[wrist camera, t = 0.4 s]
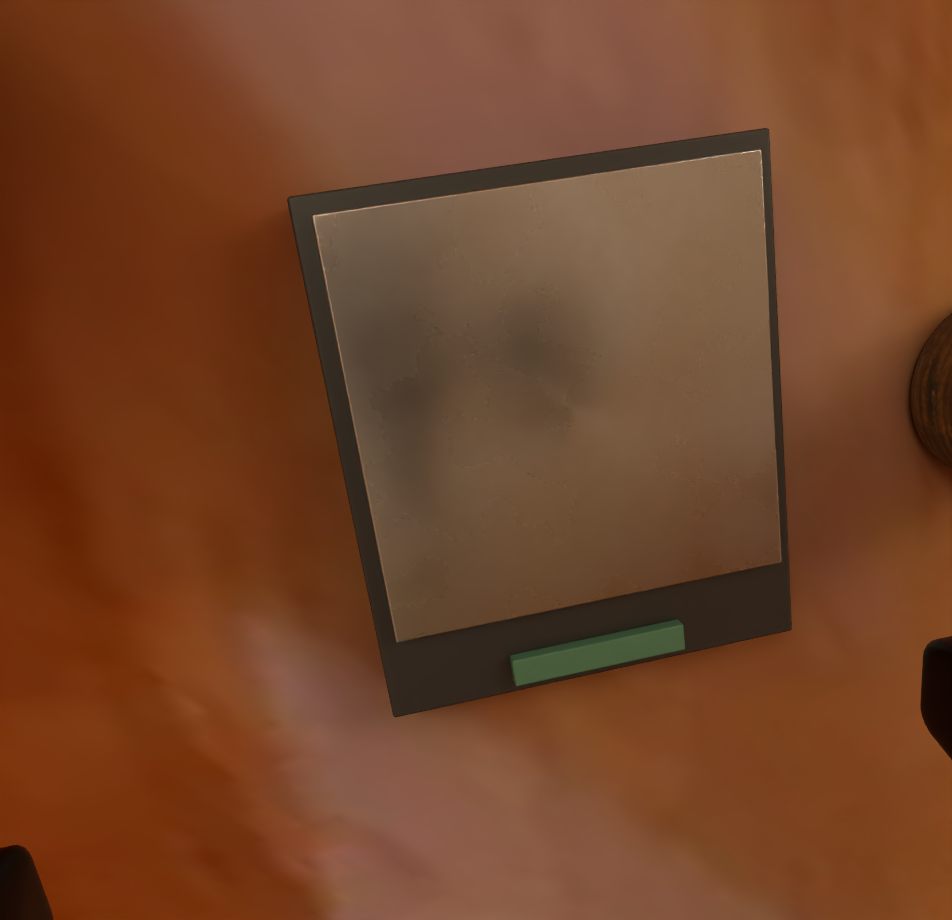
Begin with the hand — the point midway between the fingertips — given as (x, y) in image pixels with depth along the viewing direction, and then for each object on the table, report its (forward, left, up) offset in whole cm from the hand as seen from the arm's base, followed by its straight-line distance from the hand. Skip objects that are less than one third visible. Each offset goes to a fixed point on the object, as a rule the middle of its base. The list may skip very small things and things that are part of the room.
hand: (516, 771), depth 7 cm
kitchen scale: (0, -4, -15) cm, 15 cm away
